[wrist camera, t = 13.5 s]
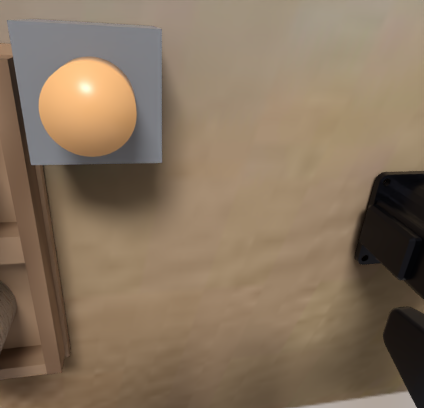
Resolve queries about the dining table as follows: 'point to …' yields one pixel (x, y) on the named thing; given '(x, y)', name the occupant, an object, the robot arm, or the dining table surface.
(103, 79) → the button
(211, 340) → the dining table surface
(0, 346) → the billet
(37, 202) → the pallet
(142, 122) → the grey square block
